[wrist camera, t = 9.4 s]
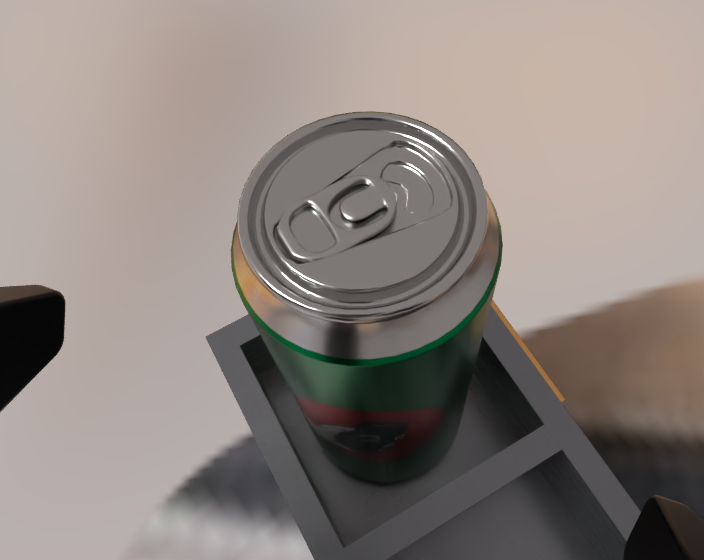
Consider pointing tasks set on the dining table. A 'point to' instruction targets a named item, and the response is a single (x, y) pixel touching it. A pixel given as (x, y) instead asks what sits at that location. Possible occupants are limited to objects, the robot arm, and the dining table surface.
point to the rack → (444, 468)
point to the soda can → (370, 283)
